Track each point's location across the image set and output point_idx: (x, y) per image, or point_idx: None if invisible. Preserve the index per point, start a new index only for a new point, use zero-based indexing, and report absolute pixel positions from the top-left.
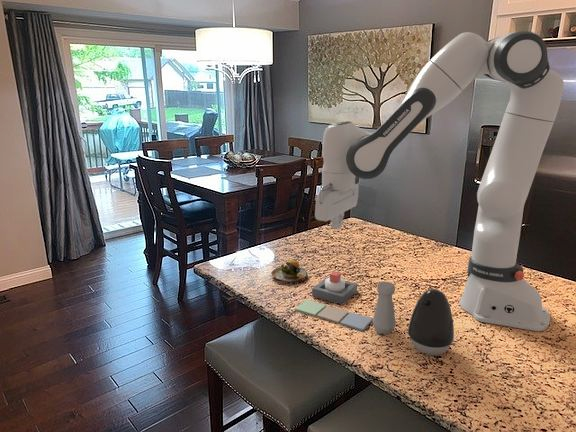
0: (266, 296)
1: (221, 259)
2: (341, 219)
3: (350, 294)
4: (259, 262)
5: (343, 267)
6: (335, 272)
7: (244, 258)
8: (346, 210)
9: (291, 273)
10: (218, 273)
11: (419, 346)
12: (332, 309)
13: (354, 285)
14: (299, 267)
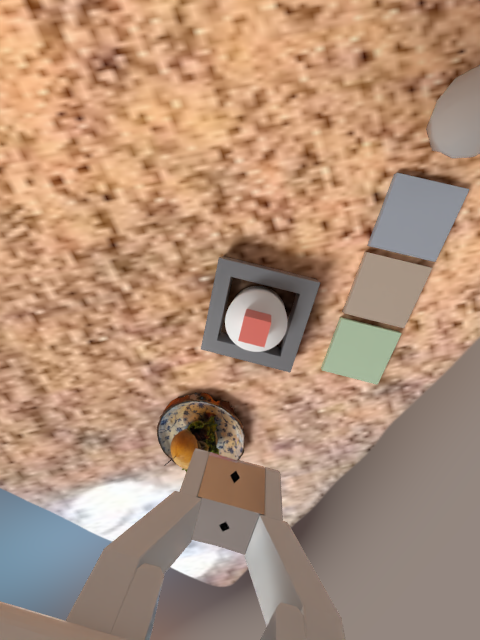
0: (319, 451)
1: (173, 564)
2: (182, 521)
3: (265, 267)
4: (154, 502)
5: (88, 322)
6: (245, 333)
7: None
8: (44, 635)
9: (213, 436)
10: (240, 553)
11: None
12: (364, 297)
13: (233, 263)
14: (159, 425)
